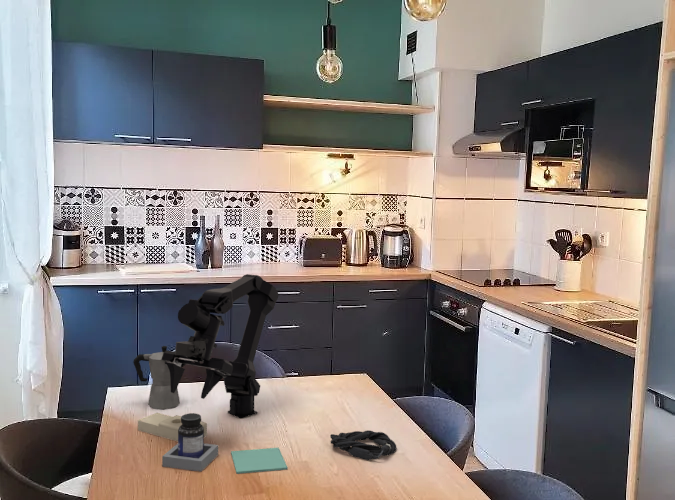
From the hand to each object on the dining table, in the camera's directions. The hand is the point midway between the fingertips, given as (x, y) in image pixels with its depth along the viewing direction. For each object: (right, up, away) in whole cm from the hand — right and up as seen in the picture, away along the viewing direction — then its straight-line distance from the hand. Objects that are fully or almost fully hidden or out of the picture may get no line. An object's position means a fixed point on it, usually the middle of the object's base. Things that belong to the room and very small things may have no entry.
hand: (187, 395), depth 167 cm
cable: (+44, -15, +3) cm, 47 cm away
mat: (+19, -14, -7) cm, 25 cm away
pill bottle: (+3, -14, -8) cm, 16 cm away
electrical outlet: (-6, -13, +9) cm, 17 cm away
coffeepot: (-15, -10, +31) cm, 36 cm away
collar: (+3, -14, -8) cm, 16 cm away
